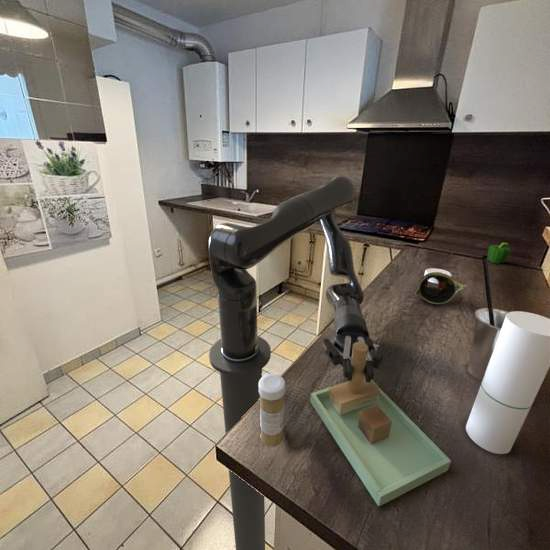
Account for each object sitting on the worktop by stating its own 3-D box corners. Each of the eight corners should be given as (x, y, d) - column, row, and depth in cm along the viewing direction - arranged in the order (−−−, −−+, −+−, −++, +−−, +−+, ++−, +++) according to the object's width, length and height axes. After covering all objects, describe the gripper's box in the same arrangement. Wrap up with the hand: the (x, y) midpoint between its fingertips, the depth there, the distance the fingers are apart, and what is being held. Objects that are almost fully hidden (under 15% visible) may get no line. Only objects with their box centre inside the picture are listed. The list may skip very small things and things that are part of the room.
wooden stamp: (327, 400, 61) (333, 345, 55) (364, 387, 64) (372, 334, 58) (339, 416, 57) (346, 359, 51) (377, 402, 60) (388, 347, 55)
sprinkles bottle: (268, 423, 57) (268, 368, 52) (288, 434, 55) (290, 378, 50) (254, 440, 54) (253, 384, 49) (275, 453, 52) (276, 396, 46)
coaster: (420, 280, 121) (422, 272, 120) (427, 273, 128) (429, 266, 127) (446, 287, 115) (449, 279, 114) (452, 279, 122) (454, 271, 121)
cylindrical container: (514, 436, 55) (567, 323, 45) (507, 462, 50) (564, 342, 40) (471, 413, 60) (510, 306, 50) (461, 435, 55) (501, 322, 45)
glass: (447, 373, 70) (481, 256, 59) (462, 353, 77) (496, 245, 66) (500, 399, 63) (552, 271, 51) (512, 374, 70) (560, 257, 58)
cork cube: (357, 426, 56) (360, 411, 54) (374, 420, 57) (377, 405, 56) (371, 444, 53) (374, 428, 51) (388, 437, 54) (392, 421, 52)
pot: (455, 266, 112) (466, 267, 95) (461, 295, 111) (473, 301, 95) (406, 274, 118) (409, 277, 101) (412, 301, 118) (416, 309, 101)
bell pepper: (484, 262, 141) (490, 242, 137) (486, 258, 147) (492, 239, 143) (505, 266, 136) (512, 246, 132) (506, 262, 142) (513, 242, 138)
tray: (310, 401, 62) (310, 393, 61) (365, 383, 67) (367, 375, 66) (378, 507, 44) (380, 497, 43) (448, 470, 49) (451, 460, 48)
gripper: (378, 341, 71) (395, 397, 55) (319, 337, 72) (320, 389, 57) (382, 315, 68) (402, 365, 52) (321, 311, 69) (322, 358, 54)
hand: (359, 377), depth 54 cm, fingers closed on wooden stamp, 3 cm apart
